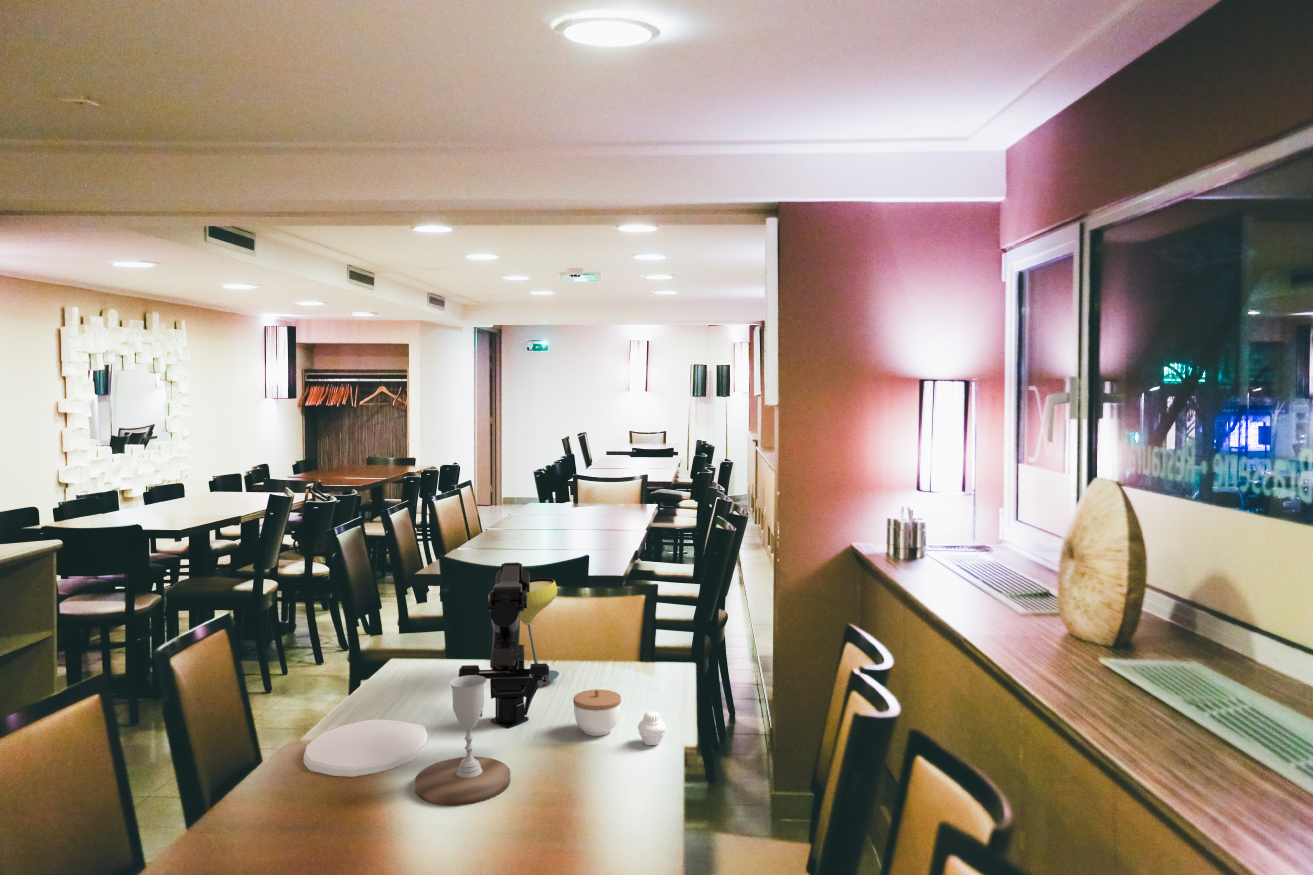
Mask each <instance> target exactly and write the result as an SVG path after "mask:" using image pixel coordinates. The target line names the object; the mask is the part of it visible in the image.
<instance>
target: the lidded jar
mask: <svg viewBox="0 0 1313 875" xmlns="http://www.w3.org/2000/svg"><path fill="white" fill-rule="evenodd" d="M572 699H573V700H572V702H573V713H574V717H575V721H576V724H577V726H578V727H579V728H580V729H581V730H582V731H583V733H584V734H585V735H587V736H590V737H591V736H592V737H602V736H605V735H609V734H610V733H611V730H613V729H614V727H616V725H617V723H618V721H619V719H620V713H621V703H622V696H621V695H620V694H619V693H618V692H616V691H613V690H608V689H600V688H599V689H597V688H596V689H588V690H584V691H580V692H577V693H576V694H575V695H574V697H573V698H572Z"/></svg>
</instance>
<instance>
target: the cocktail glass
mask: <svg viewBox="0 0 1313 875" xmlns="http://www.w3.org/2000/svg"><path fill="white" fill-rule="evenodd" d="M492 591H493V590H492ZM492 591H490V592H492ZM490 592H489V593H488V596H487V597H488V598H487V599H488V601H489V598H490ZM557 594H558V586H557V583H556V581H555V580H554V579H553V578H548V577H547V578H546V577H545V578H542V577H541V578H534V579H530V592H527V597H528V599H527V608H524V611H521V612H520V622H521V623H522V624H524V625H526V626H527V628H528V634H529V639H530V645H531V652H532V655H533V656H532V657H533V662H534V663H533V664H539V663H538V659H537V655H536V654H537V653H536V650H535V644H534V638H533V634H532V630H531V625H532V624H533V622H534V620H535V618H536V616H537V615H538V614H539V613H540V612H541V611H543V610H544V609H545V608H546V607H547V606H549V605H550V604H551V603H552V602H553V601H554V599H556V597H557ZM559 675H560V672H558V670H553V669H551V670H550V669H549V682H548V683H550V682H552V681H554V680H555V679H557V678H558V677H559ZM544 684H545V683H543V685H544Z"/></svg>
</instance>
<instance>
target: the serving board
mask: <svg viewBox="0 0 1313 875" xmlns="http://www.w3.org/2000/svg"><path fill="white" fill-rule="evenodd" d="M473 757H474V758H476V759H477V760H478V761H479V764H480V765H481V768H482V770H483V772H482V773H481V774H480V775H478V776H475V777H470V778H463V777H459V776H457V774H456V773H457V771H458V767H459V766H460V762H461V761H462V760H463V759H465V758H466V756H460V757H454V758H448V759H445V760H441V761H438V762H436V763H433V764H431V765H429V766H427V767H424V768H423V769H422V770H421V771H419V773H417V775H415V776H416V777H415V779H414V792H415V794H416V795H417V796H418V798H419V799H421V800H423V801H425V802H428V803H430V804H434V805H439V806H440V805H441V806H464V805H470V804H471V805H472V804H477V802H478V803H481V802H484V801H487V799H488V800H490V799H493V798H494V797H497V796H499V795H500V794H502V793H503V792H504V791H505V790H507V789H508V787H509V785H510V784H511V769H510V767H509V766H508V765H507V764H506V763H504V762H502V761H501V760H498V759H495V758H491V757H485V756H473ZM496 795H497V796H496ZM492 797H493V798H492Z"/></svg>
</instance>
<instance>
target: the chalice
mask: <svg viewBox="0 0 1313 875" xmlns="http://www.w3.org/2000/svg"><path fill="white" fill-rule="evenodd" d="M486 681H487V679H486V678H485V677H483V676H479V675H468V676H462V677H459V676H458V677H455V678H453V679H451V680H450V682H449V685H450V687H451V688H452V690H451V691H452V709H453V712H454V714H455V718H456V719H457V721H458V723H459V726H461V728H462V729H465V730H466V733H465V734H466V735H465V737H464V739H465V742H466V745H465V746H464V749H465V752H466V755H465V757H466V758H465V759H463V760H462V761H461V762H460V766H459V767H458V771H457V773H456V774H457V776H459V777H463V778H470V777H475V776H478V775H480V774H481V773H482V772H483V770H482V768H481V765H480V764H479V761H478V760H477V759H476V758H474V757H475V756H473V753H472V751H473V749H474V746H473V744H472V742H473V739H474V736H473V734H472V729H473V728H475V727H476V726H477V724H478V722H479V720H480V718H481V717H480V715H481V713H482V714H483V709H484V706H485V689H484V688H485V687H484V686H485V684H486Z"/></svg>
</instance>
